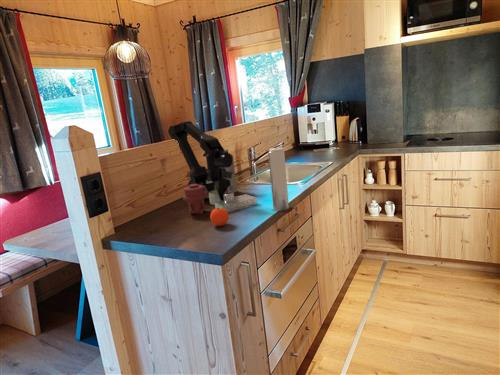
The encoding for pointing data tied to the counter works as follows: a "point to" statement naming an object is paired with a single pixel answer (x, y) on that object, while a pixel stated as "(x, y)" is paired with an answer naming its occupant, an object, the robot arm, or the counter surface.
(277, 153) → the tall grey block
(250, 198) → the beige rectangular block
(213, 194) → the collar
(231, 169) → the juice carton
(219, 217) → the clementine
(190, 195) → the mechanical component
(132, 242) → the counter surface
